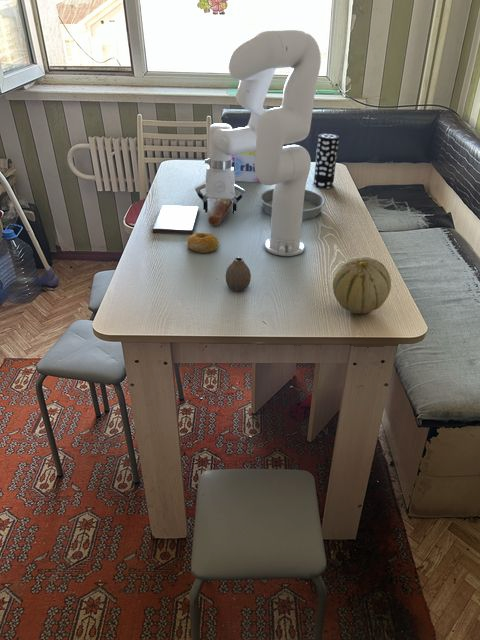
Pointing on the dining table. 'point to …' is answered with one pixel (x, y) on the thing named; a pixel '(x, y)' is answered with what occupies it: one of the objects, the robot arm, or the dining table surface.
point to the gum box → (244, 167)
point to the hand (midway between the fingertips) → (220, 212)
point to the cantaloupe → (361, 284)
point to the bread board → (176, 220)
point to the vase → (238, 275)
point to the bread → (219, 210)
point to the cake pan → (310, 204)
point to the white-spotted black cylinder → (326, 160)
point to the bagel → (202, 242)
